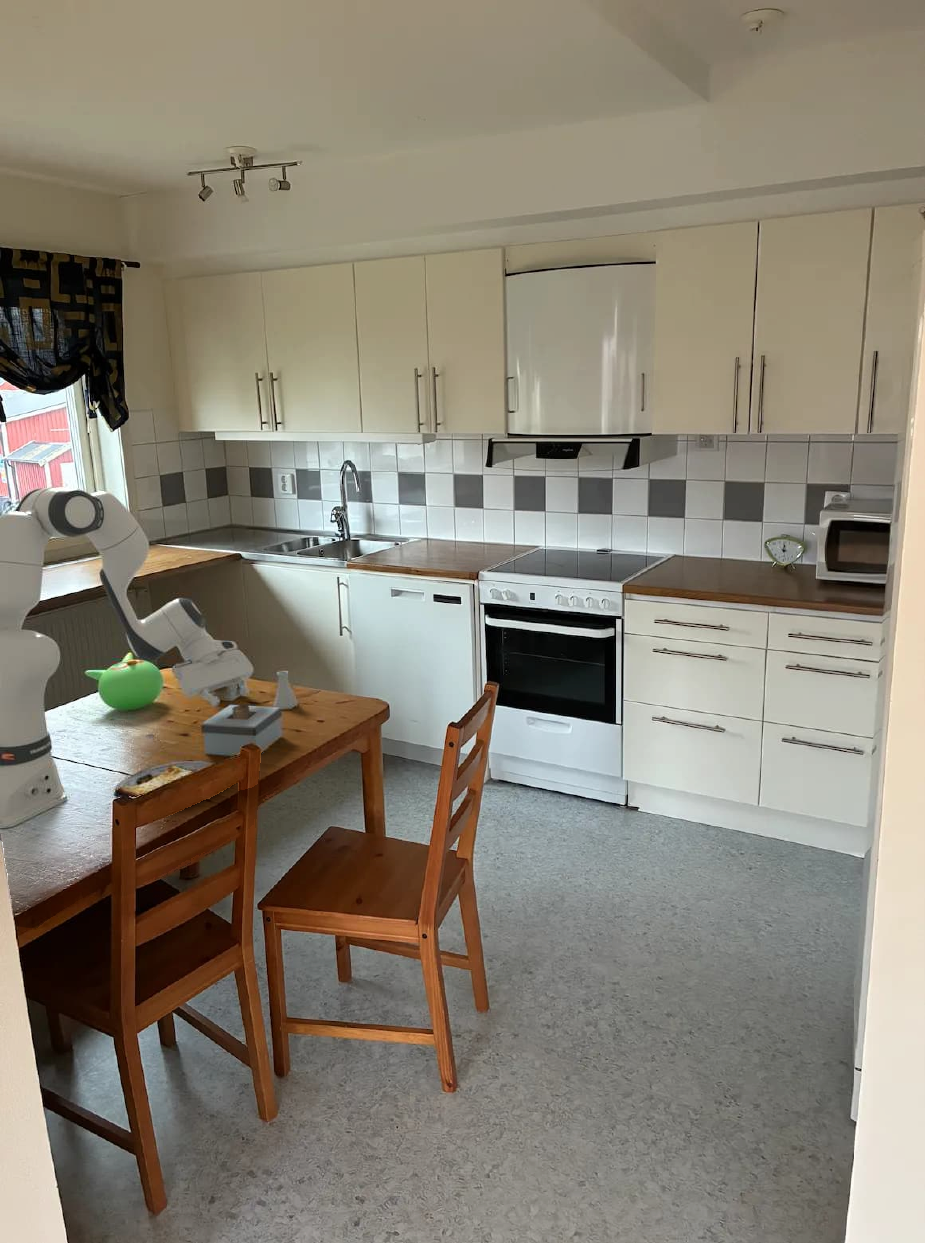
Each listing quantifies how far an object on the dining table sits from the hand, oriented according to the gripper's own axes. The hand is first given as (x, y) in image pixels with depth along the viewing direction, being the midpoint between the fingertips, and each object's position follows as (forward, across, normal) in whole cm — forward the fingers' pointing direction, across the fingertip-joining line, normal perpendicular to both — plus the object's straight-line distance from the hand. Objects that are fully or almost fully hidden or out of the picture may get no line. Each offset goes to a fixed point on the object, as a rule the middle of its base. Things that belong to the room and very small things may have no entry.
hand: (232, 699), depth 236 cm
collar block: (+10, 0, +6) cm, 12 cm away
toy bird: (-26, +3, +43) cm, 50 cm away
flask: (0, +27, +16) cm, 31 cm away
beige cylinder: (+10, 0, +6) cm, 12 cm away
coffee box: (-15, +23, +32) cm, 42 cm away
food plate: (+16, -27, +1) cm, 31 cm away
